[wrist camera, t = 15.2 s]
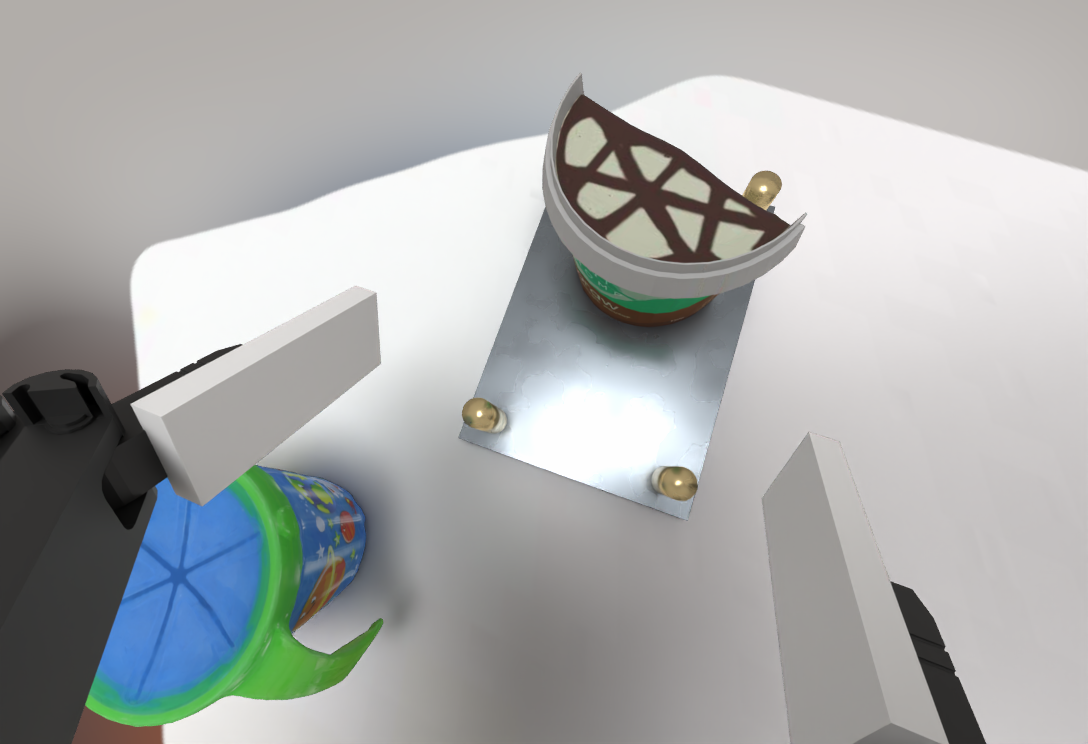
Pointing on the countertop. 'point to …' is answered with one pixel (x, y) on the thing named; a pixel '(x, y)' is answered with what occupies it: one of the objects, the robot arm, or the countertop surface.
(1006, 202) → the countertop surface
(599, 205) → the food container
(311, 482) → the snack cup
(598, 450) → the post plate
